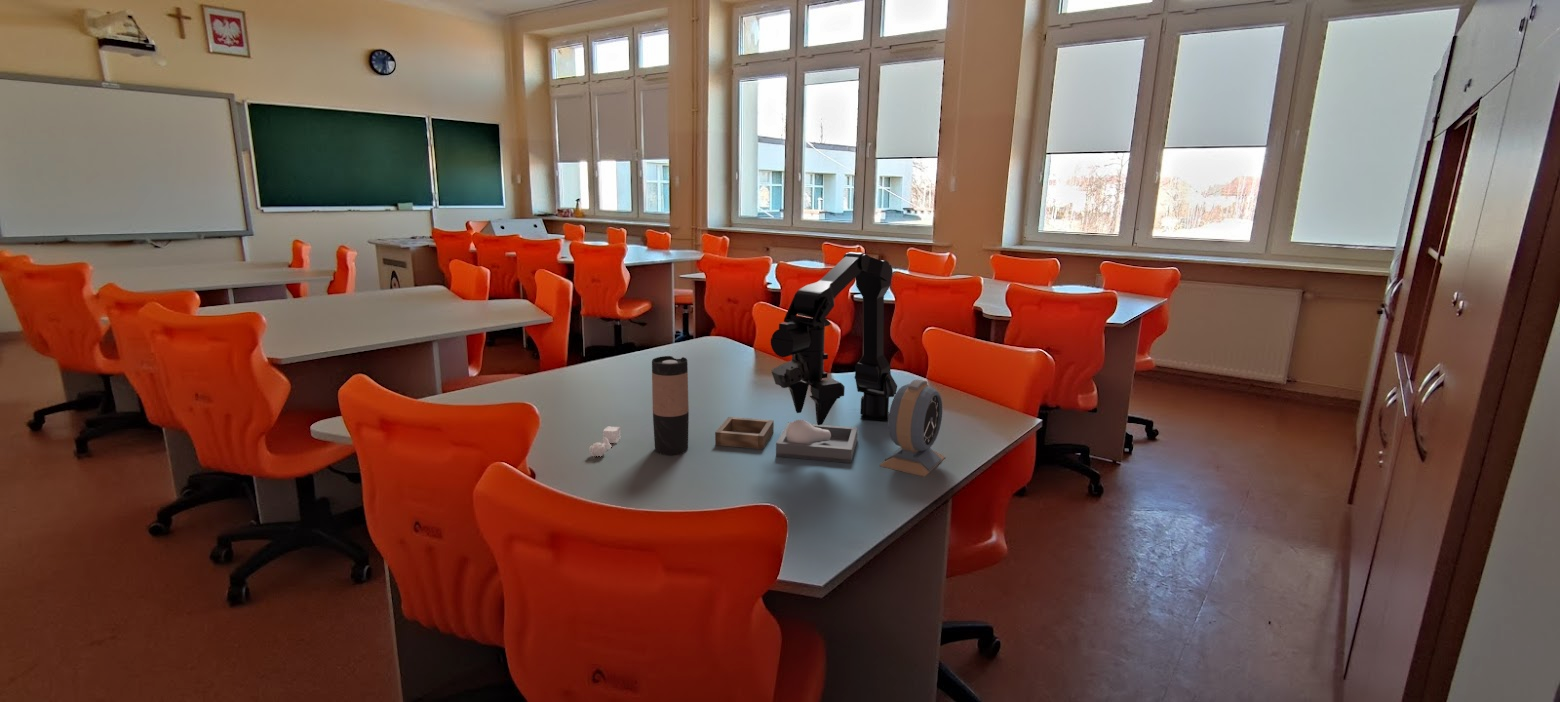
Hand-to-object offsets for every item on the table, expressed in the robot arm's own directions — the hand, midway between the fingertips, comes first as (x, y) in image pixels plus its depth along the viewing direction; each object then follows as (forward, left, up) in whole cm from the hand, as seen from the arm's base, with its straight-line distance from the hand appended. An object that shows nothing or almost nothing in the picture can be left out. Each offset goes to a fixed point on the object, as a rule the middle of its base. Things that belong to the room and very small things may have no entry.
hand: (808, 418), depth 152 cm
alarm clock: (-23, +2, -7) cm, 24 cm away
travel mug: (+29, +7, -7) cm, 31 cm away
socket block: (+15, -3, -7) cm, 17 cm away
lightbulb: (-4, -3, -5) cm, 7 cm away
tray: (-2, -1, -7) cm, 7 cm away
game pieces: (+43, +10, -8) cm, 45 cm away
